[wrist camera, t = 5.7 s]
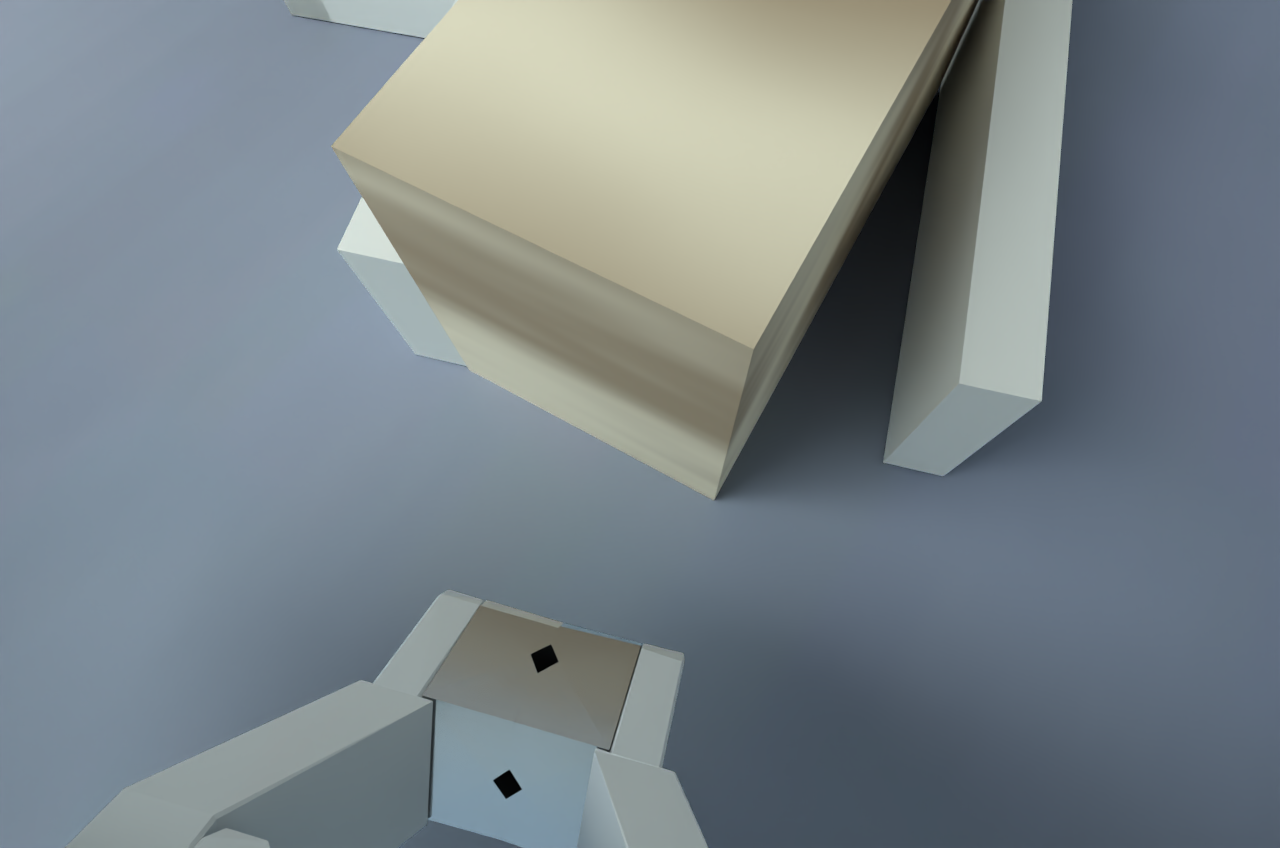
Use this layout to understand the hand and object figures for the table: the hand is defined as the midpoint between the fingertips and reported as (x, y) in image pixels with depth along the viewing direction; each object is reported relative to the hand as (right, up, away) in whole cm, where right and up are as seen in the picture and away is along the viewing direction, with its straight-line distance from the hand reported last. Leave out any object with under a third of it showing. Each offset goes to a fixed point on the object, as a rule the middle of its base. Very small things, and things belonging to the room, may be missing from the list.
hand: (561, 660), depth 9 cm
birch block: (+3, +8, +8) cm, 11 cm away
